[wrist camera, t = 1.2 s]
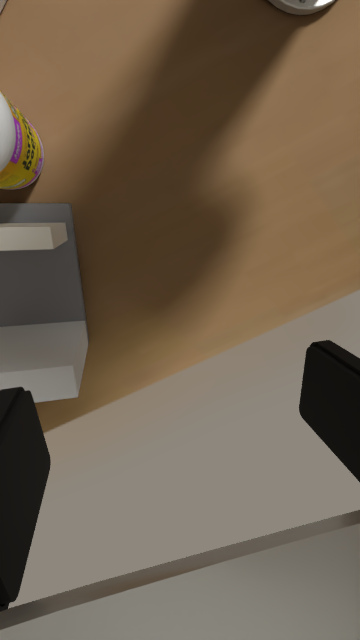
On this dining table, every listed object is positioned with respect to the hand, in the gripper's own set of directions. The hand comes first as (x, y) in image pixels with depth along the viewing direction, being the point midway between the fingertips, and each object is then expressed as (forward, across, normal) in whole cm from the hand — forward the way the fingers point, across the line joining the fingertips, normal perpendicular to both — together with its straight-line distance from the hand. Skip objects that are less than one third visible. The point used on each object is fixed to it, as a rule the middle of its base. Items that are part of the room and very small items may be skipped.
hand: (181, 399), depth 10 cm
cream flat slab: (+22, +12, -5) cm, 26 cm away
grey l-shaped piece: (+24, +11, 0) cm, 27 cm away
